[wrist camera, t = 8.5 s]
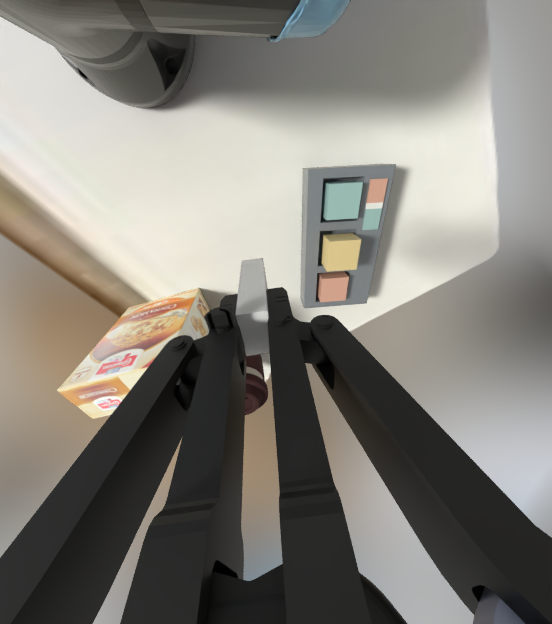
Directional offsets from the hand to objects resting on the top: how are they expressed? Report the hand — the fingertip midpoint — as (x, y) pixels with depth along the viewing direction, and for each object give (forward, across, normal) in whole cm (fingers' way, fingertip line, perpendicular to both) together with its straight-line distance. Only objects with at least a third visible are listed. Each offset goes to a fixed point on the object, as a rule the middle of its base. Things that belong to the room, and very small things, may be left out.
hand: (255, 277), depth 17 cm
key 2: (+23, +13, 0) cm, 26 cm away
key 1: (+22, +12, -14) cm, 29 cm away
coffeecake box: (+24, -20, -16) cm, 35 cm away
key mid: (+20, +12, -7) cm, 24 cm away
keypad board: (+24, +13, -7) cm, 28 cm away
